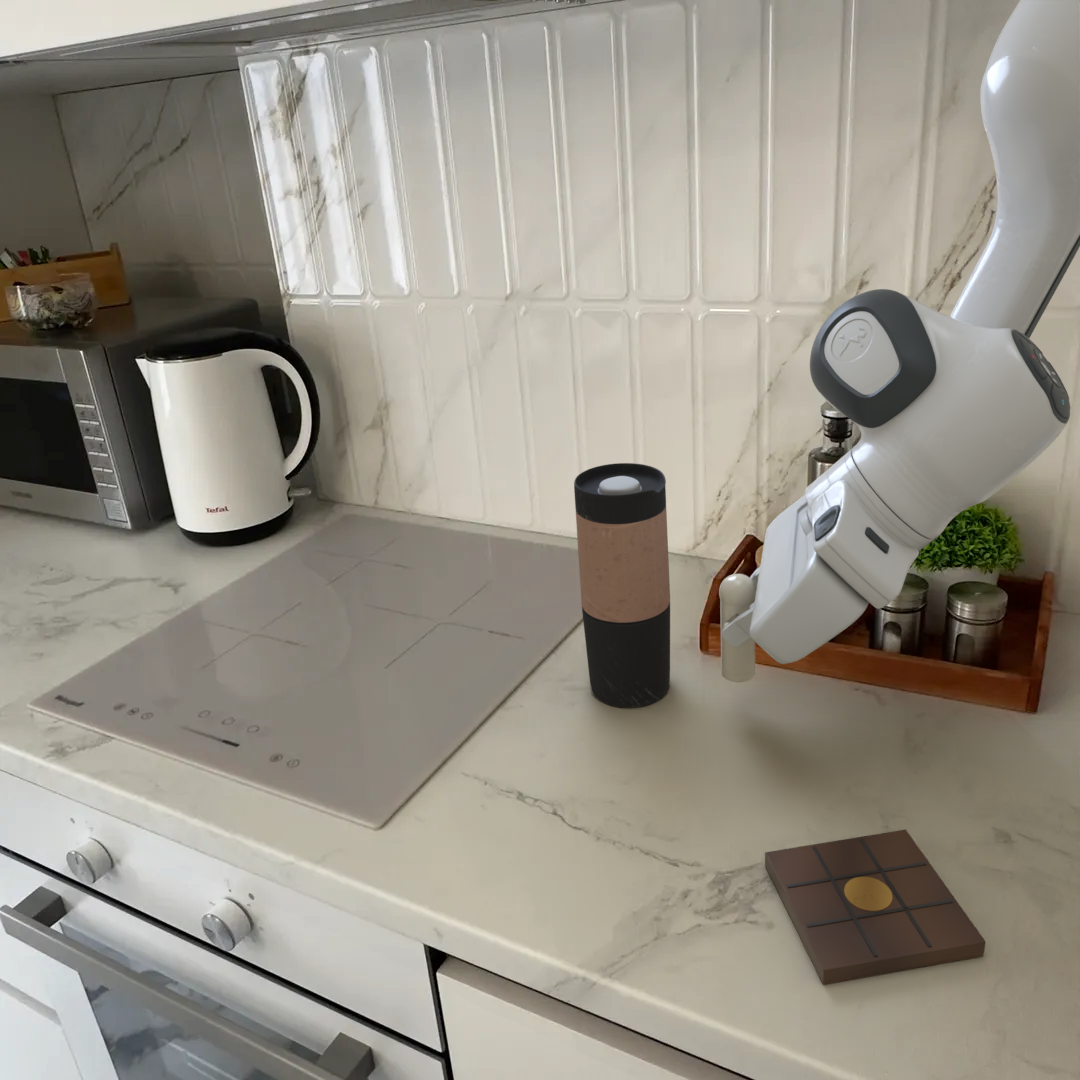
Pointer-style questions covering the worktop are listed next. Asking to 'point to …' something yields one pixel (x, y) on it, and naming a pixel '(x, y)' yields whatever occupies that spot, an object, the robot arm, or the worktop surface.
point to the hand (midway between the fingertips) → (730, 625)
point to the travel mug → (624, 581)
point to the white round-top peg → (733, 599)
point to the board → (871, 907)
